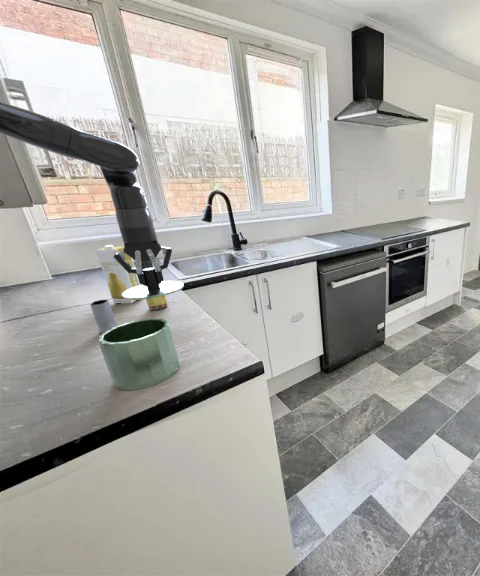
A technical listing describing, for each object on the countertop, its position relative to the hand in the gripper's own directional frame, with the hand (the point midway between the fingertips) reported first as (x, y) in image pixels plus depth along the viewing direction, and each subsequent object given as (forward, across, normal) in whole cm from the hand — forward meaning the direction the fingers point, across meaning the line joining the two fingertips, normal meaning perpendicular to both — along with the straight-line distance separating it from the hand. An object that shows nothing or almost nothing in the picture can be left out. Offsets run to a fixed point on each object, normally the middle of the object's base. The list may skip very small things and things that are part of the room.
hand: (152, 284), depth 90 cm
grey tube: (+19, -16, +21) cm, 32 cm away
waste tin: (+19, -5, -18) cm, 26 cm away
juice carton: (+19, -12, +52) cm, 57 cm away
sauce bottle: (+19, -2, +35) cm, 40 cm away
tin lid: (+2, 0, 0) cm, 2 cm away
